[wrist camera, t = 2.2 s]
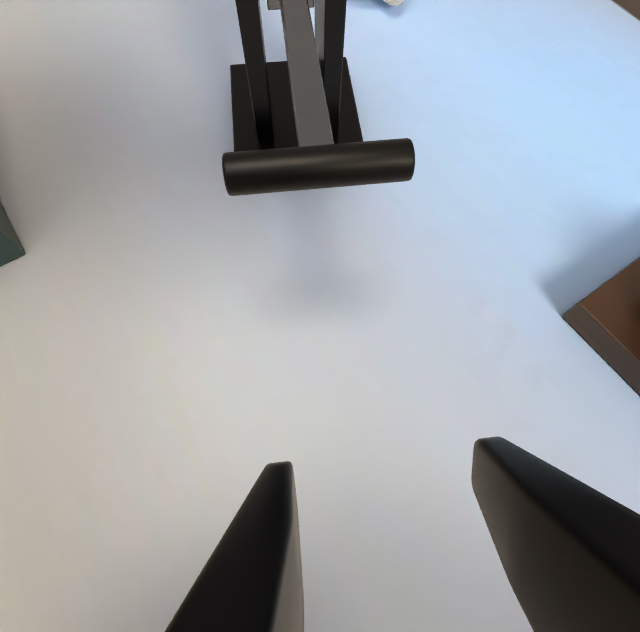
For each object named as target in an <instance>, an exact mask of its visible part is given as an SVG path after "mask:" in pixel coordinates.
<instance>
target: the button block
mask: <svg viewBox="0 0 640 632" xmlns="http://www.w3.org/2000/svg"><path fill="white" fill-rule="evenodd" d="M562 317H563V318H564V319H565V320H566V321H567V322H568V323H569V324H570V325H571V326H572V327H573V328H574V329H575V330H576V331H577V332H578V333H579V334H580V335H581V336H582V337H583V338H584V339H585V340H586V341H587V342H588V343H589V344H590V345H591V346H592V347H593V348H594V349H595V350H596V351H597V352H598V354H599V355H600V356H601V357H602V358H603V359H604V360H605V361H606V362H607V363H608V364H609V365H610V366H611V367H612V368H613V369H614V370H615V371H616V372H617V373H618V374H619V375H620V376H621V377H622V378H623V379H624V380H625V381H626V382H627V383H628V384H629V385H630V386H631V387H632V388H633V389H634V390H635V391H636V392H637V393H638V394H639V395H640V257H639V258H638V259H636V260H635V261H634V262H632V263H631V264H630V265H628V266H627V267H626V268H624V269H623V270H622V271H620V272H619V273H618V274H616V275H615V276H614V277H612V278H611V279H610V280H608V281H607V282H606V283H604V284H603V285H602V286H600V287H599V288H598V289H596V290H595V291H594V292H592V293H591V294H589V295H588V296H587V297H585V298H584V299H583V300H581V301H580V302H579V303H577V304H576V305H575V306H573V307H572V308H571V309H570V310H568V311H567V312H566V313H564V314H563V315H562Z"/></svg>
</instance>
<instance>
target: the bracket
mask: <svg viewBox="0 0 640 632" xmlns="http://www.w3.org/2000/svg"><path fill="white" fill-rule="evenodd" d="M235 1H236V7H237V13H238V20H239V26H240V32H241V38H242V45H243V51H244V57H245V63H246V64H238V65H231V66H230V71H231V94H232V116H233V138H234V152H239V151H252V150H265V149H277V148H290V147H298V140H297V132H296V125H295V117H294V109H293V101H292V94H291V86H290V78H289V70H288V63H287V61H282V62H267V63H266V56H265V47H264V38H263V29H262V20H261V11H260V2H259V0H235ZM345 16H346V0H315V43H316V49H317V54H318V59H319V65H320V70H321V76H322V81H323V87H324V92H325V97H326V103H327V108H328V114H329V119H330V125H331V130H332V136H333V141H334V144H340V143H353V142H363V138H362V133H361V128H360V123H359V118H358V113H357V108H356V103H355V98H354V94H353V89H352V84H351V79H350V74H349V69H348V64H347V59H346V57H343V48H344V32H345Z"/></svg>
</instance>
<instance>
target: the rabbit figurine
mask: <svg viewBox="0 0 640 632" xmlns="http://www.w3.org/2000/svg"><path fill="white" fill-rule="evenodd" d="M383 1H385V2H386V3H388V4H389V5H392V6H398V5H401V4H402V3H403V1H404V0H383Z"/></svg>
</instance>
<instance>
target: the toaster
mask: <svg viewBox="0 0 640 632" xmlns="http://www.w3.org/2000/svg"><path fill="white" fill-rule="evenodd" d="M24 254H25V252H24V250H23V248H22V246H21V244H20V242H19V239H18V237H17V235H16V233H15V231H14V229H13V227H12V225H11V223H10V221H9V219H8V217H7V215H6V213H5V211H4V208H3V206H2V204H1V202H0V266H2V265H4V264H6V263H8V262H10V261H12V260H14V259H16V258H18V257H20V256H22V255H24Z"/></svg>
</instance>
